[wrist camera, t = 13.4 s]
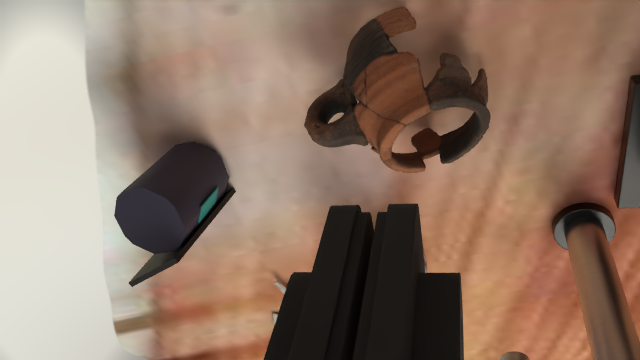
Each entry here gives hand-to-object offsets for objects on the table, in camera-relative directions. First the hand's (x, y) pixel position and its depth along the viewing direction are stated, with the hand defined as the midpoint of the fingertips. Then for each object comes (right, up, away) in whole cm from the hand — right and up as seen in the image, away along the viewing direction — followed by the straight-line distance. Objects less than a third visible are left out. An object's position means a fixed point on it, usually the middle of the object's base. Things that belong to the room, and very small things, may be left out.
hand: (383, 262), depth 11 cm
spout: (+17, -2, +34) cm, 38 cm away
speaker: (-12, +2, +38) cm, 40 cm away
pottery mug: (+4, +9, +29) cm, 31 cm away
